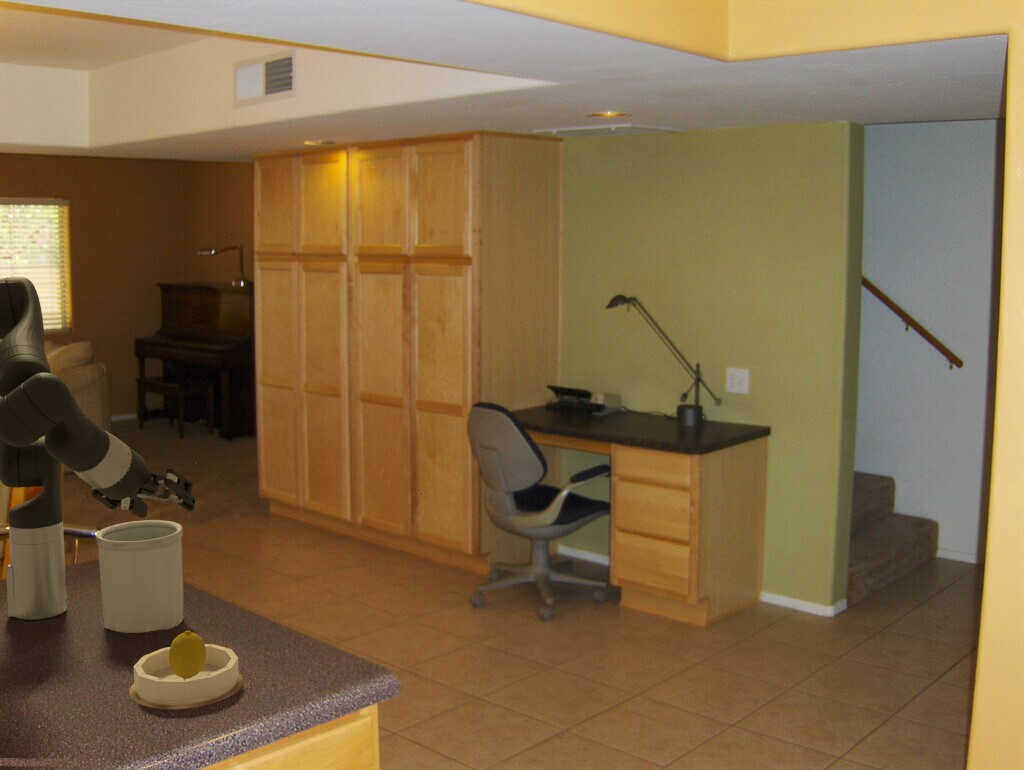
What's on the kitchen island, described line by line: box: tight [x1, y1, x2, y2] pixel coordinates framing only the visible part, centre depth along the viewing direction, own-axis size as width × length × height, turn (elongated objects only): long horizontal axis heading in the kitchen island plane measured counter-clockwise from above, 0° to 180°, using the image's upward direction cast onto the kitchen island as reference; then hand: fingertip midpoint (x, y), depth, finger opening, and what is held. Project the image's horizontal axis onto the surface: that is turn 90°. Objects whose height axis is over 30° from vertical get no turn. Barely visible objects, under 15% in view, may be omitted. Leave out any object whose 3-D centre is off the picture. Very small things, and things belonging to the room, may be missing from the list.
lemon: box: [169, 630, 206, 679], centre depth 166 cm, size 6×6×8 cm
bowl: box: [133, 643, 240, 706], centre depth 166 cm, size 15×15×4 cm
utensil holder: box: [95, 519, 184, 634], centre depth 194 cm, size 15×15×18 cm
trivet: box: [128, 671, 244, 710], centre depth 167 cm, size 17×17×1 cm
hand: (168, 509), depth 168 cm, fingers open, 8 cm apart
